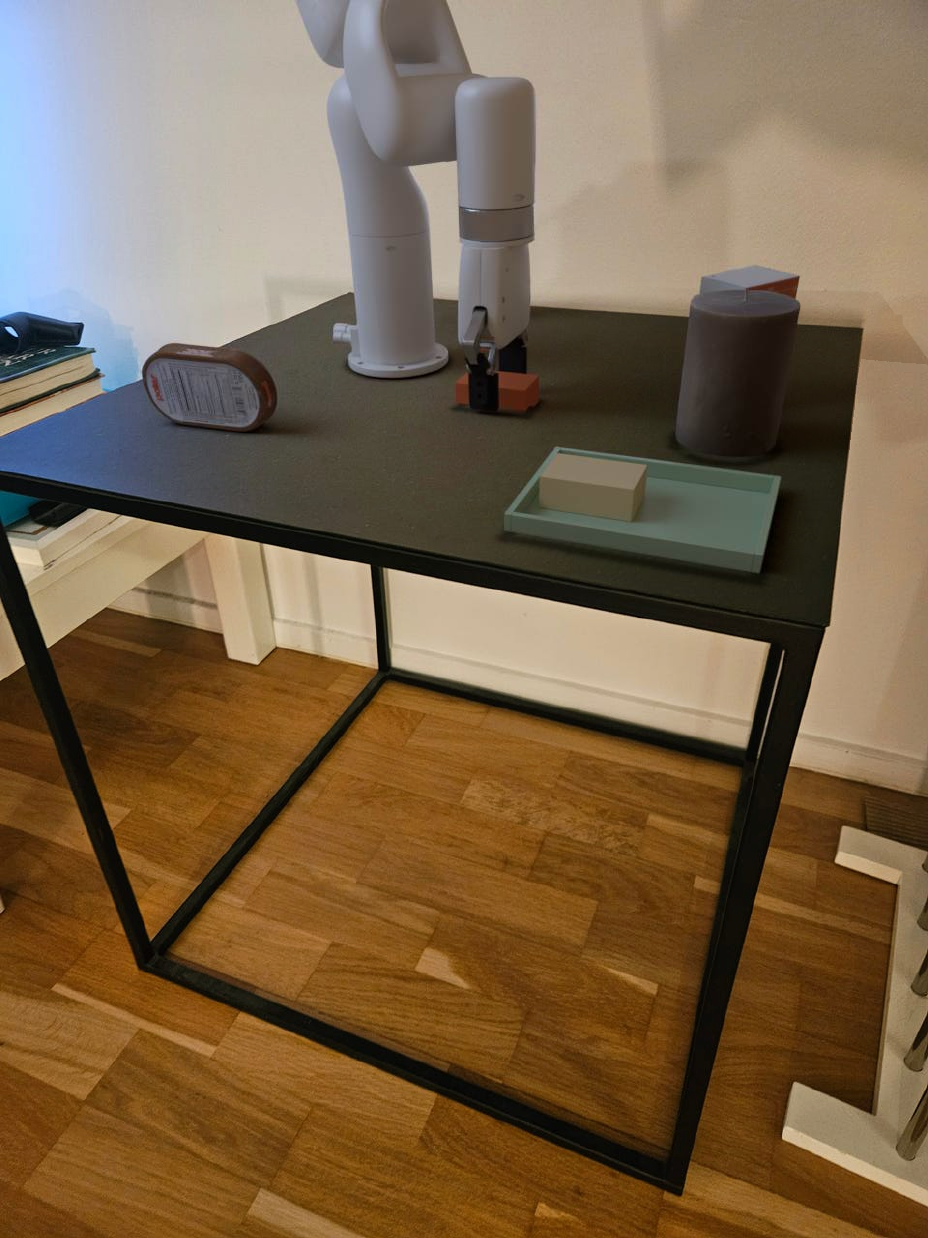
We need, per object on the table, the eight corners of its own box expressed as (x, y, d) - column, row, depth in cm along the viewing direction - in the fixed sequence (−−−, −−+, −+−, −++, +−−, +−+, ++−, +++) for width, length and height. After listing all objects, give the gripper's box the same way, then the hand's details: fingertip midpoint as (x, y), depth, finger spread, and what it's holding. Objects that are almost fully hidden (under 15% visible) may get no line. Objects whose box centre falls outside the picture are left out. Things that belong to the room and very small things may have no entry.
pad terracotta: (455, 409, 95) (454, 382, 94) (472, 393, 99) (471, 368, 97) (524, 417, 93) (524, 390, 91) (538, 401, 96) (539, 375, 95)
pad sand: (539, 508, 74) (539, 475, 72) (556, 483, 77) (557, 452, 76) (631, 522, 71) (634, 489, 69) (644, 496, 75) (647, 464, 73)
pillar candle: (758, 472, 80) (788, 306, 71) (658, 451, 84) (675, 293, 76) (786, 435, 87) (817, 279, 78) (693, 418, 91) (712, 269, 82)
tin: (284, 427, 92) (272, 348, 87) (269, 438, 90) (256, 358, 85) (165, 413, 97) (147, 338, 92) (148, 424, 94) (129, 347, 89)
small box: (728, 414, 92) (747, 286, 84) (684, 397, 96) (699, 275, 89) (779, 397, 95) (802, 274, 88) (735, 382, 100) (753, 263, 92)
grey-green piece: (504, 538, 71) (504, 513, 70) (554, 468, 82) (555, 446, 80) (758, 581, 64) (763, 555, 63) (777, 500, 75) (781, 475, 74)
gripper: (492, 208, 93) (494, 367, 103) (426, 240, 80) (436, 419, 90) (558, 210, 91) (554, 373, 100) (502, 243, 77) (504, 427, 87)
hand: (498, 394), depth 95 cm, fingers open, 8 cm apart
